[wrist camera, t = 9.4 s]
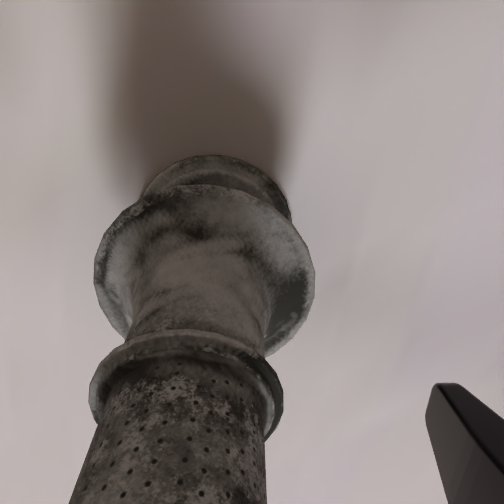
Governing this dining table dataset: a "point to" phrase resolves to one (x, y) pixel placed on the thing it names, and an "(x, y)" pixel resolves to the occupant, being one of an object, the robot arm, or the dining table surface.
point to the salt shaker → (194, 337)
